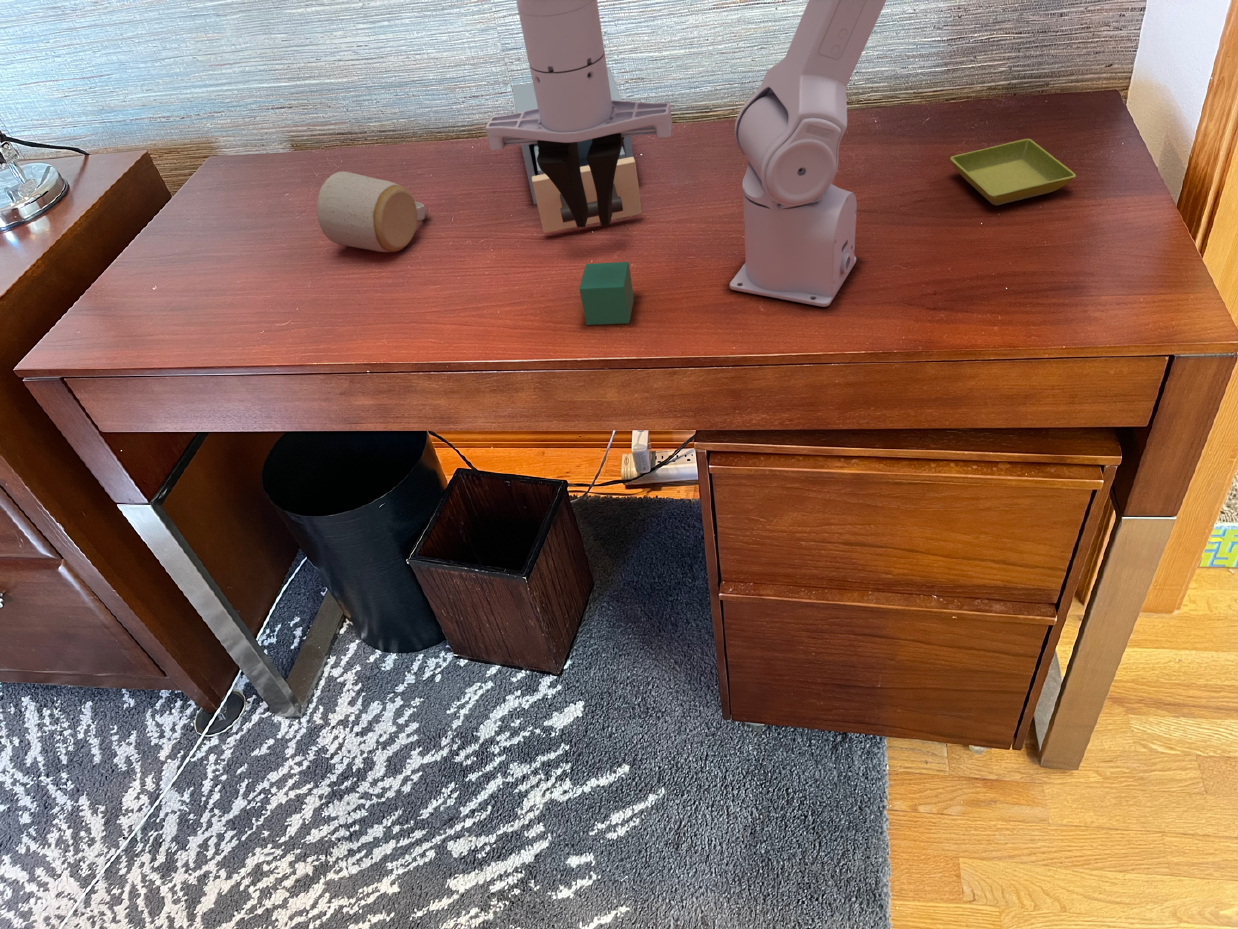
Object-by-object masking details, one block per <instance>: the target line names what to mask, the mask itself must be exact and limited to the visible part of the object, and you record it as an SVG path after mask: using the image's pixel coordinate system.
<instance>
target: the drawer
mask: <svg viewBox="0 0 1238 929" xmlns="http://www.w3.org/2000/svg"><path fill="white" fill-rule="evenodd" d="M577 143H578V154H579V163H580V171H581V177H582V182H583V186H584V191H585V195H586V199H587V205H588V214H589V215H588V219H587V222H586V226H587V225H593V224H597V223H600V219H599V213H598V203H597V195H596V190H595V185H594V181H593V177H592V174H591V170H590V167H589V164H588V161H587V154H588V151H589V148H590V145H591V144H592V139H590V140H585V141H580V142H577ZM533 145H534V151H535V157H536V163H537V169H538V174H539V175H537V176H532V183H533V187H534V192H535V196H536V201H537V204H536V205H537V206H536V207H537V210H538V214H539V219H540V223H541V228H542V232H543V234H547V233H551V232H557V231H561V230H567V229H571V228H578V227H577V225H576V222H575V220H574V217H573V215H572V213H571V211H570V209H569V207H568V205H567V203H566V201H565V200H564V198H563V196H562V195H561V193H560V192H559V190H558V189H557V187H556V186H555V185H554V183H553V182H552V181H551V180H550V179H549V177H548V176H547V175H546V174H545V173H544V172H543V171H542V170H541V169H540V167H539V165H538V162H537V157H538V154H539V153H538V144H537V143H536V144H533ZM642 214H643V211H642V203H641V194H640V188H639V180H638V172H637V163H636V159H635V157H634V156H633V157H629V158H626V157H625V153H624V149H623V146H622V148H621V152H620V156H619V159H618V162H617V166H616V171H615V176H614V183H613V192H612V217H611V221H612V220H618V219H622V218H628V217H633V216H638V215H642Z"/></svg>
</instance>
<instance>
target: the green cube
mask: <svg viewBox="0 0 1238 929" xmlns="http://www.w3.org/2000/svg"><path fill="white" fill-rule="evenodd" d="M578 289H579V296H580V300H581V304H582V310H583V316H584V320H585V324H586V326H597V325H598V326H599V325H625V324H630V322H631V321H630V320H631V316H632V311H633V306H634V302H635V294H634V287H633V280H632V274H631V268H630V262H629V261H618V262H617V261H615V262H597V263H595V262H594V263H586V264H585V267H584V269H583V274H582V278H581V280H580V284H579V288H578Z"/></svg>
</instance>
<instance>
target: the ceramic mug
mask: <svg viewBox="0 0 1238 929" xmlns="http://www.w3.org/2000/svg"><path fill="white" fill-rule="evenodd" d="M316 216H317V221H318V223H319V224H318V225H319V228H320V229H321V231H322V232H323V234H324V236H325V237H326V238H327V239H328V240H329V241H331V242H332V243H334V244H337V245H339V246H346V247H352V248H357V249H363V250H370V251H375V252H379V253H381V252H382V253H394V252H395V253H396V252H399V251H401V250H403V249H404V248H405V247H407V246H408V244H410V242H411V240H412V239H413V237H414V235H415V233H416V230H417V226H418V223H419V222H421V221H424V220H425V218H426V207H425V204H423V203H421V202H419V201H418V202H417V201H415V199H414V197H413V195H412V193H411V192H410V191H409V190H408V189H407V188H406V187H404V186H403V185H400V184H397V183H395V182H393V181H389V180H385V179H380V178H375V177H370V176H368V175H363V174H359V173H354V172H351V171H344V170H343V171H337V172H335V173H333V174H331V175H330V176H328V177H327V178H326V179H325V181H324V182H323V183H322V186H321V187H320V190H319V192H318V195H317V201H316Z"/></svg>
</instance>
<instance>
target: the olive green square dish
mask: <svg viewBox="0 0 1238 929" xmlns="http://www.w3.org/2000/svg"><path fill="white" fill-rule="evenodd" d="M949 161H950V162H951V165H952V166H953V167H954V168H955V170H956V171H957V173H958V174H959V175H960V176H961V177H962V178H963V179H964V180H965V181H966V182H967V183H969V185H971V186H972V188H974V189H975V190H976V191H977V192H978V193H979V194H980V195H981V196H983V198H985V199H986V200H987V201H988V202H989V203H990V204H991V205H992V206H996V207H997V206H1000V205H1005V204H1008V203H1013V202H1017V201H1021V200H1025V199H1030V198H1034V197H1038V196H1042V195H1047V194H1050V193H1054V192H1055V191H1057V190H1060V189H1062V188H1063V187H1064V186H1067V184H1069V183H1071V181H1073V180H1074V179H1075V178H1076V177H1077V175H1076V173H1075V172H1074V171H1072V170H1071V169H1070V168H1069V167H1067V166H1066V165H1065V164H1064V163H1062V162H1061V161H1059V160H1058V159H1057V158H1055V156H1053V155H1052V154H1051V153H1049V152H1048V151H1047V150H1046V149H1044V148H1043V147H1041V146H1040V145H1039V144H1038V143H1036V142H1035V141H1034V140H1033V139H1031V138H1023V139H1018V140H1015V141H1011V142H1007V143H1003V144H998V145H994V146H990V147H986V148H982V149H977V150H973V151H969V152H964V153H960V154H955V155H952V156H950V157H949Z"/></svg>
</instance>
